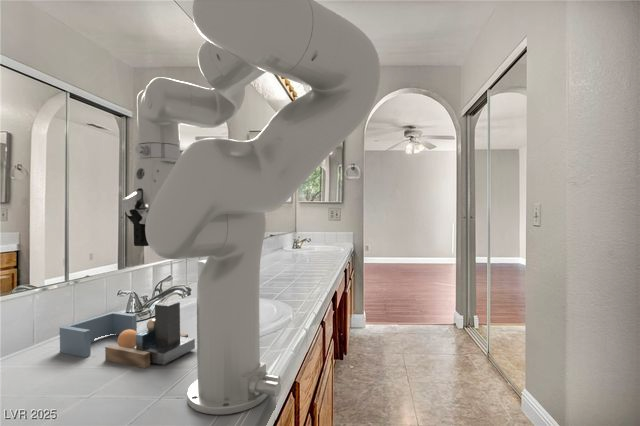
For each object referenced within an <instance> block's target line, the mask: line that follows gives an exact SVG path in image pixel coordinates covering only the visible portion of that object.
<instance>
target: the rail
mask: <svg viewBox="0 0 640 426" xmlns="http://www.w3.org/2000/svg"><path fill="white" fill-rule="evenodd" d="M180 336H181V337H187V338H189V334H187V333H182V332H180ZM104 349H105V350H104V353H105V358H104V359H105V361H107V362H114V363H118V364H122V365H126V366H127V365H128V366H133V367H139V368H141V369H146V368H148V367H150V366H151V362H150V352H146V351H141V350H136V348H132V349H130V348H125V347H119V345H113V344H109V345H107V346H105V347H104Z"/></svg>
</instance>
